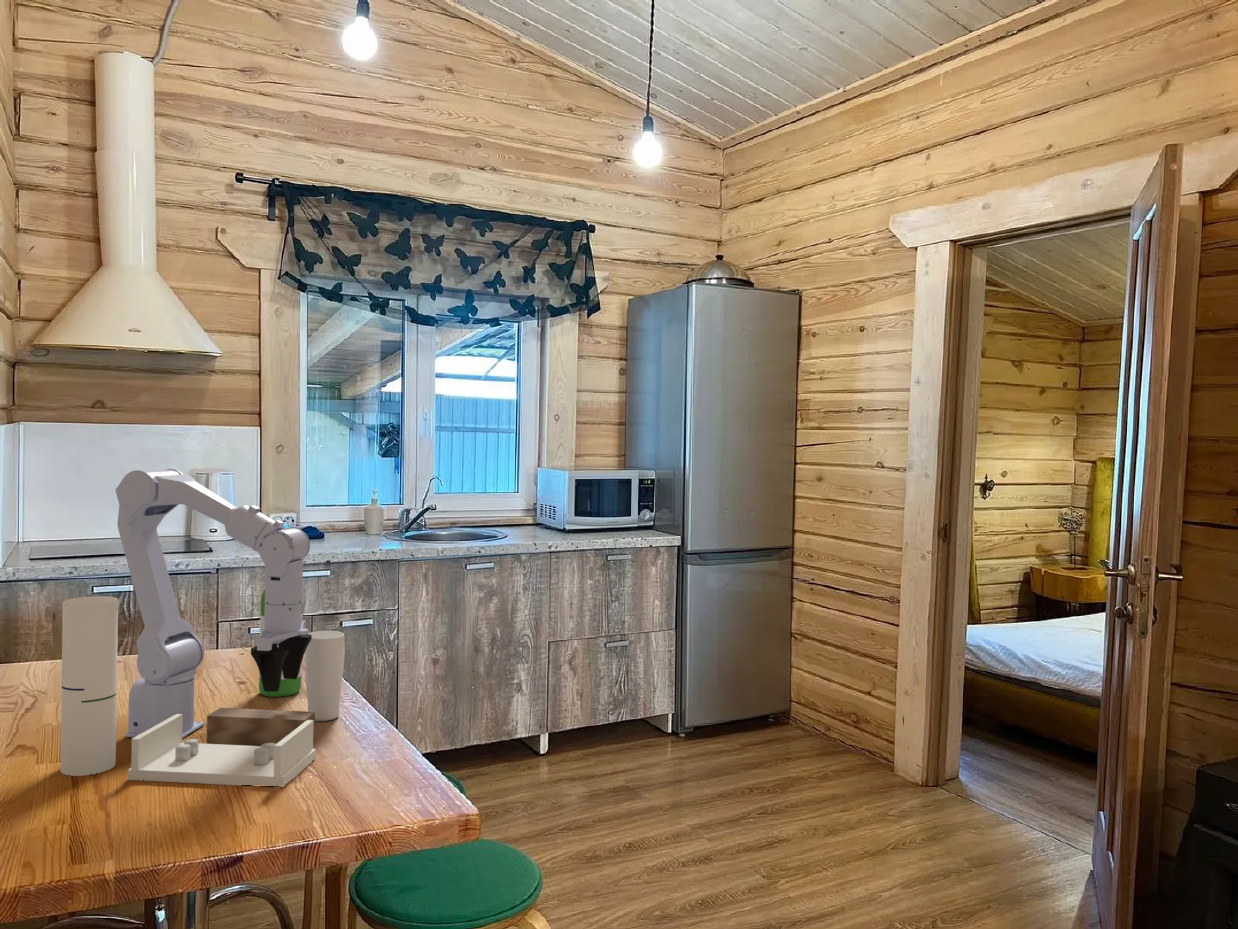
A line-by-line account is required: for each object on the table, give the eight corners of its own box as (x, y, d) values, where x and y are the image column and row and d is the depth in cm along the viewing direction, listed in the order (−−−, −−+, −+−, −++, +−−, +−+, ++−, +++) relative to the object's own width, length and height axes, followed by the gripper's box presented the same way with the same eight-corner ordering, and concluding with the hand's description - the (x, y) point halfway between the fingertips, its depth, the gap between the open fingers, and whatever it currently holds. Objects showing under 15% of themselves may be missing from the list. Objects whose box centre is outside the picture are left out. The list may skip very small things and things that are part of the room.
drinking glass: (331, 725, 158) (332, 639, 158) (295, 721, 160) (297, 637, 159) (350, 714, 165) (351, 632, 165) (316, 710, 166) (317, 629, 166)
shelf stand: (127, 779, 131) (128, 738, 131) (172, 751, 143) (173, 713, 143) (283, 787, 130) (284, 746, 130) (315, 758, 142) (316, 720, 142)
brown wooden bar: (206, 746, 147) (207, 715, 147) (219, 737, 151) (220, 707, 151) (303, 751, 146) (304, 720, 146) (314, 742, 151) (314, 712, 150)
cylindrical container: (75, 758, 139) (77, 596, 138) (124, 758, 140) (126, 596, 139) (50, 776, 132) (52, 604, 131) (101, 776, 133) (104, 605, 132)
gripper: (289, 611, 141) (286, 698, 142) (323, 595, 156) (321, 674, 156) (244, 609, 142) (242, 696, 142) (283, 593, 156) (281, 672, 157)
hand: (281, 684), depth 149 cm, fingers open, 7 cm apart
